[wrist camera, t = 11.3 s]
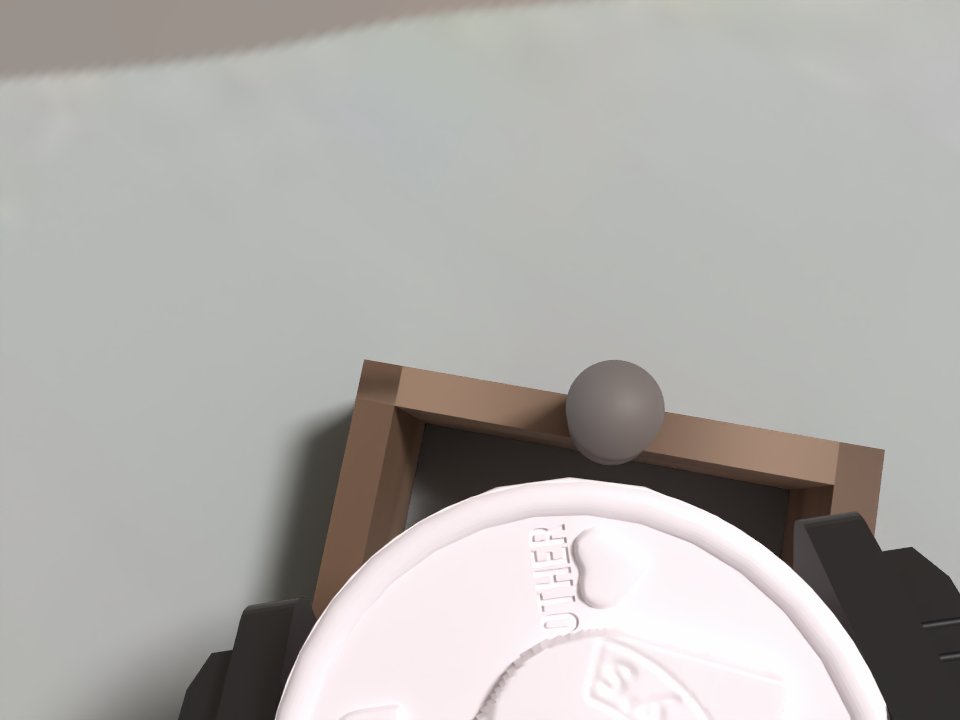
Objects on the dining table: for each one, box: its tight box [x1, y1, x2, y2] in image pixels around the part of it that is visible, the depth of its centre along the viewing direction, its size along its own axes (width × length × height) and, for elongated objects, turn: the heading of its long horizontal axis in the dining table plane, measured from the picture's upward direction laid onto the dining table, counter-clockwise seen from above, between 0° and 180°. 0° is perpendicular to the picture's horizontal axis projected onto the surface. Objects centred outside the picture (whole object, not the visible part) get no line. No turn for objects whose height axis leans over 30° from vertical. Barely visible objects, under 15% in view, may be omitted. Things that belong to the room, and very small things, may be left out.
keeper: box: [312, 360, 885, 621], centre depth 17 cm, size 10×9×6 cm
